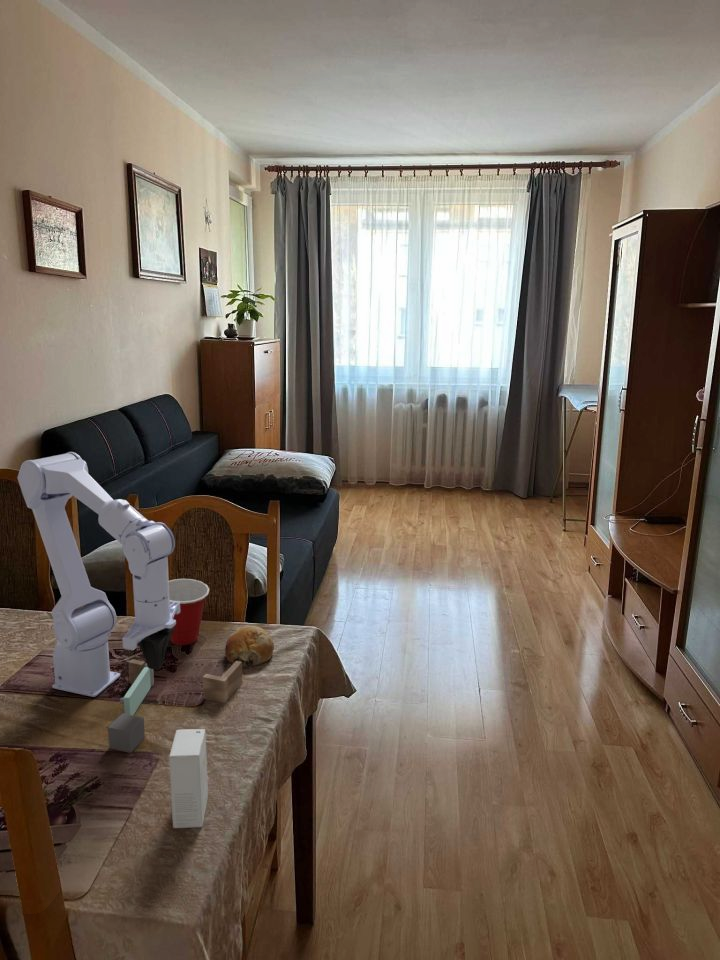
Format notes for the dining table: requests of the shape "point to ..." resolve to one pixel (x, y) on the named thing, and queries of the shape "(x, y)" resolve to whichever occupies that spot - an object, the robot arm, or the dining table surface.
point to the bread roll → (249, 646)
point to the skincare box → (188, 778)
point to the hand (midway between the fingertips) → (155, 667)
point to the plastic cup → (187, 609)
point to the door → (138, 691)
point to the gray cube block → (126, 732)
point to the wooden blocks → (205, 681)
